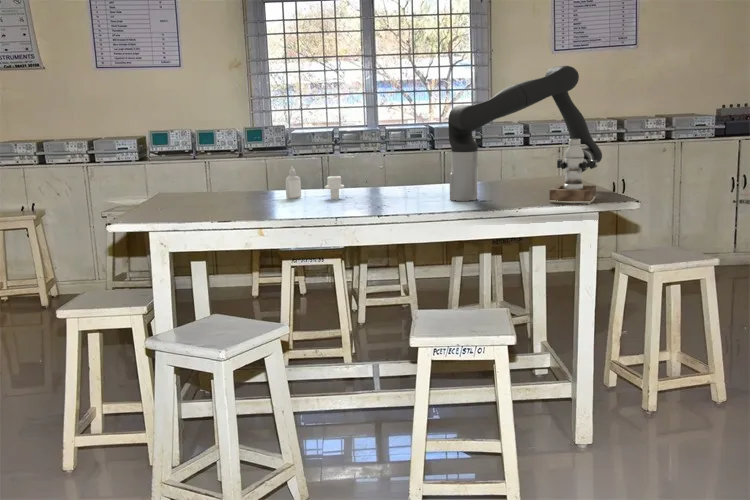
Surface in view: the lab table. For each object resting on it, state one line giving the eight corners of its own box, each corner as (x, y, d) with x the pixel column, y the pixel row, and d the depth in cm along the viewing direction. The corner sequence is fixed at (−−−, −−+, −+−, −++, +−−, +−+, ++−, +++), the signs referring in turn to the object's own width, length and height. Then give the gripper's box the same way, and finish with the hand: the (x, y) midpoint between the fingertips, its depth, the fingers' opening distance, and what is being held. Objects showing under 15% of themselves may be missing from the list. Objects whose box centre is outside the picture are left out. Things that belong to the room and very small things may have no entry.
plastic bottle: (578, 199, 252) (580, 140, 248) (559, 197, 256) (561, 139, 252) (586, 196, 257) (588, 138, 253) (567, 195, 261) (569, 138, 257)
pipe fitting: (333, 200, 273) (332, 178, 271) (322, 198, 279) (321, 176, 277) (347, 198, 277) (346, 176, 275) (336, 196, 282) (336, 175, 281)
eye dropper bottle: (301, 198, 280) (299, 166, 277) (286, 199, 279) (284, 167, 277) (301, 196, 284) (299, 165, 281) (286, 197, 283) (284, 166, 281)
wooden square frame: (549, 202, 253) (549, 189, 252) (556, 197, 265) (557, 184, 264) (590, 204, 248) (590, 190, 247) (595, 198, 260) (596, 185, 259)
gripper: (560, 150, 269) (551, 154, 254) (601, 150, 263) (594, 155, 248) (559, 170, 271) (551, 176, 256) (600, 171, 265) (594, 177, 250)
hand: (572, 166), depth 252 cm, fingers closed on plastic bottle, 6 cm apart
